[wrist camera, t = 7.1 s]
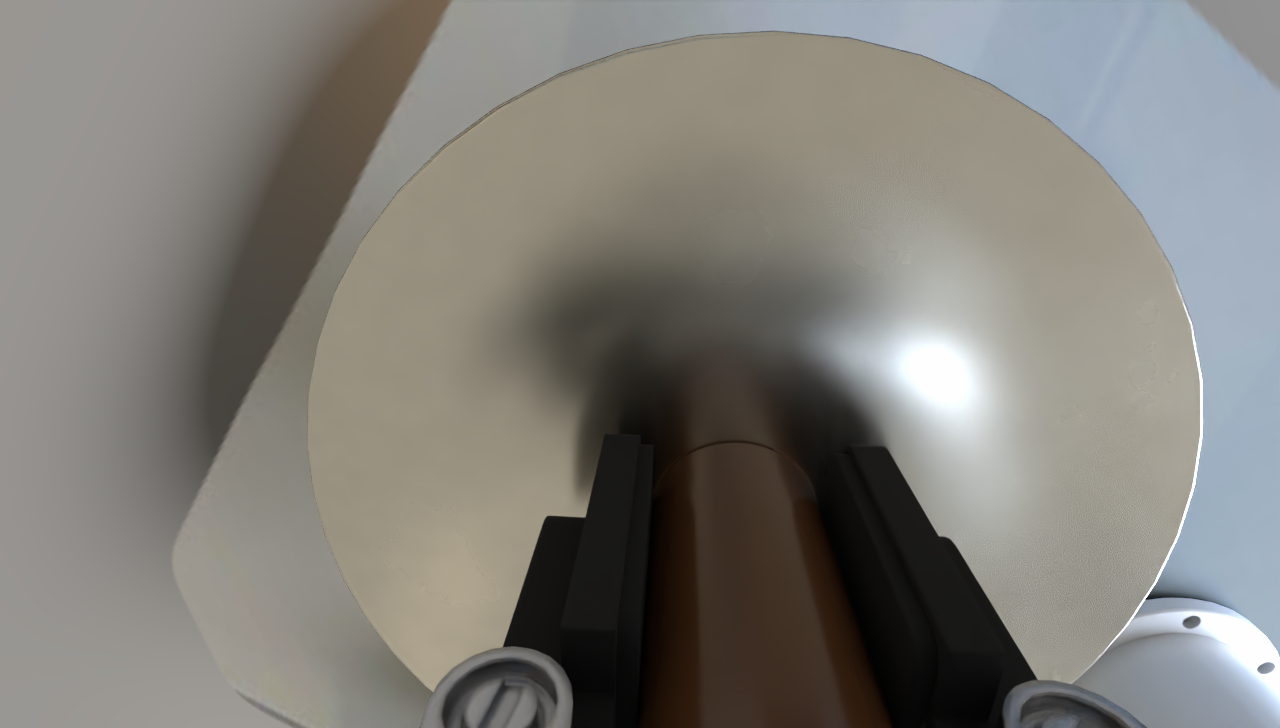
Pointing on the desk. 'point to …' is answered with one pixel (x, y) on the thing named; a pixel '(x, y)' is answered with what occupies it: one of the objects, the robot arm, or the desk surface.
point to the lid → (756, 365)
